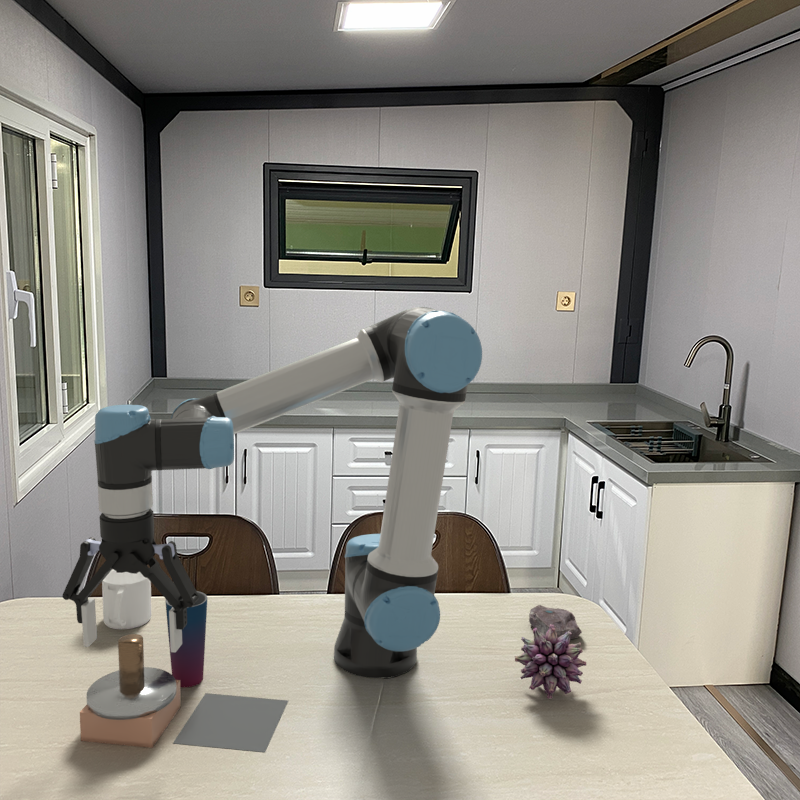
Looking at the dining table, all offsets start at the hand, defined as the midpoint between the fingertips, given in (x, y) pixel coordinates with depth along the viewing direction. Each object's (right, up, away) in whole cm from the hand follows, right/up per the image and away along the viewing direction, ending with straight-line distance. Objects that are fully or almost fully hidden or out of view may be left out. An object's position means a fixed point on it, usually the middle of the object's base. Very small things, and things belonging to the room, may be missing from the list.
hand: (133, 645), depth 120 cm
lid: (-1, -8, +1) cm, 8 cm away
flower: (+66, -13, +15) cm, 69 cm away
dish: (-1, -13, +2) cm, 13 cm away
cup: (+4, -11, +15) cm, 19 cm away
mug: (-14, -7, +36) cm, 39 cm away
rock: (+71, -9, +38) cm, 81 cm away
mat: (+14, -13, +4) cm, 20 cm away
